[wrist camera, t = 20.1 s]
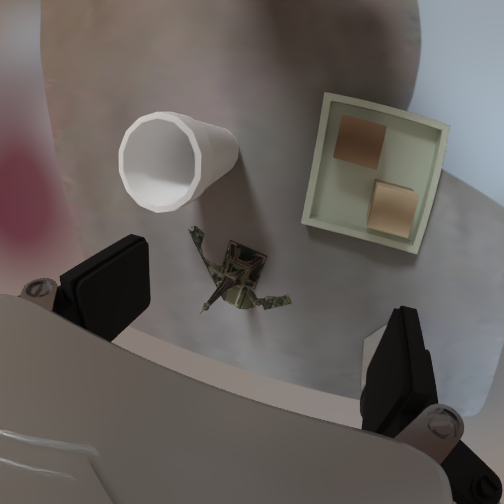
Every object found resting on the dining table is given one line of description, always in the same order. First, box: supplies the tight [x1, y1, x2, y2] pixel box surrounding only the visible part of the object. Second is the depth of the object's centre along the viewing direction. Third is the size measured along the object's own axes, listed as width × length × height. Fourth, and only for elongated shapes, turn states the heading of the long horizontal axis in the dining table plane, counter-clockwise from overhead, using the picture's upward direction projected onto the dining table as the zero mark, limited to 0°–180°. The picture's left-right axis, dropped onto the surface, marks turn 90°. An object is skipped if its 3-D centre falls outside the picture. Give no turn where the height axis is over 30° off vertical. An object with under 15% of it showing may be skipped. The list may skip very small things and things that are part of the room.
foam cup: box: [119, 112, 239, 213], centre depth 33 cm, size 10×9×13 cm
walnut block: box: [333, 114, 387, 170], centre depth 30 cm, size 4×4×4 cm
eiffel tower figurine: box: [188, 226, 291, 314], centre depth 38 cm, size 15×10×13 cm
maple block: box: [366, 179, 419, 238], centre depth 31 cm, size 4×4×4 cm
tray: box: [301, 92, 450, 254], centre depth 32 cm, size 15×14×3 cm
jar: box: [360, 323, 388, 418], centre depth 35 cm, size 9×8×12 cm
